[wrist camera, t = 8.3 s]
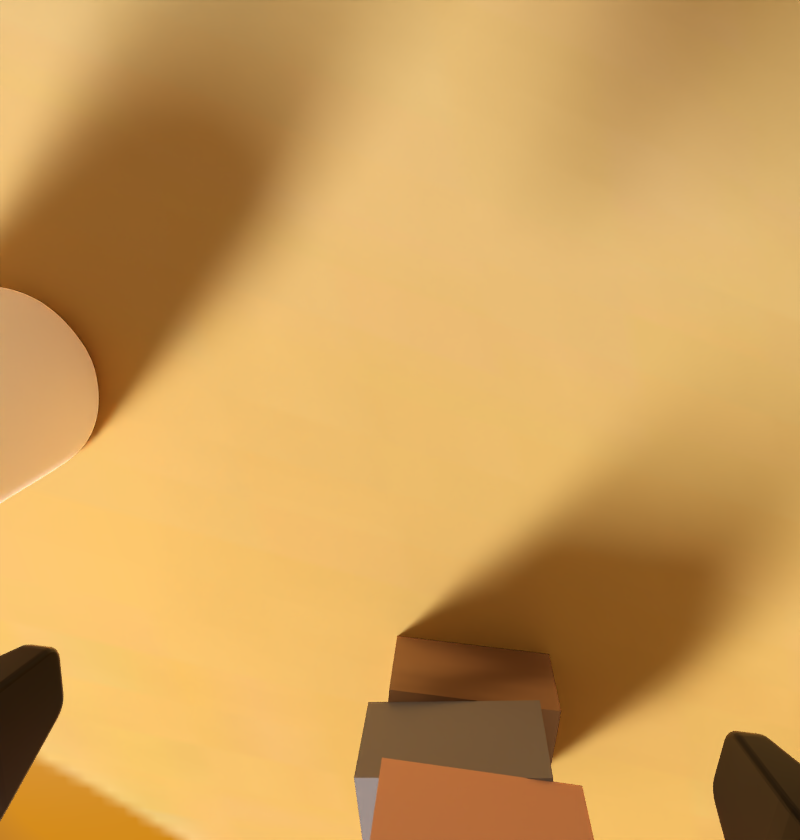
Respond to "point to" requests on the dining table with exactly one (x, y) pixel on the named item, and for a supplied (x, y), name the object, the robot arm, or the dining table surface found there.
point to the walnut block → (474, 677)
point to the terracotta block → (474, 805)
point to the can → (40, 392)
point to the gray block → (451, 741)
